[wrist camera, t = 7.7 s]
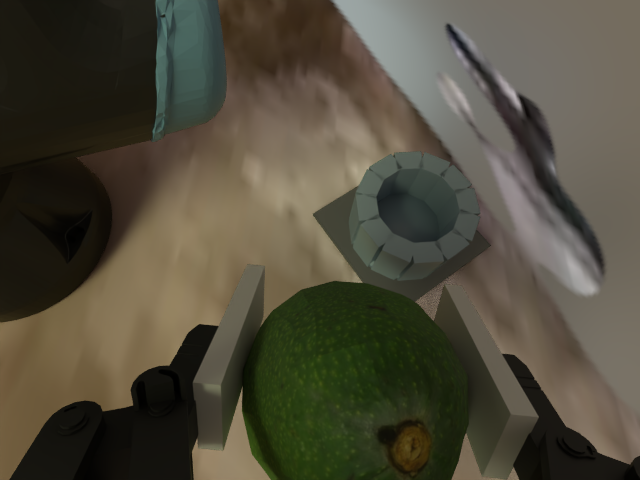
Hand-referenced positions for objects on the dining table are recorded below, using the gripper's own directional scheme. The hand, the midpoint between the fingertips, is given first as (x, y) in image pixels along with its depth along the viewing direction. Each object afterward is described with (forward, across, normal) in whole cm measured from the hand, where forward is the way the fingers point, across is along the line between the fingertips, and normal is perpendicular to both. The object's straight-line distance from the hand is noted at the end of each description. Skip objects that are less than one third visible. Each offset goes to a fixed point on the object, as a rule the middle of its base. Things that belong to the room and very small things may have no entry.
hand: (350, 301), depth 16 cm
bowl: (+15, +5, -3) cm, 16 cm away
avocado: (0, 0, -5) cm, 5 cm away
